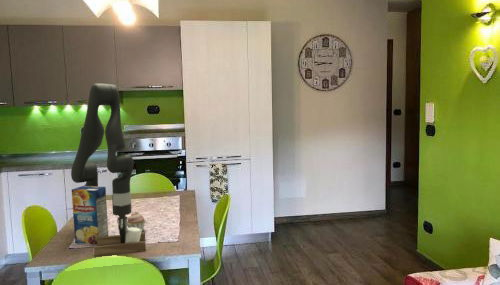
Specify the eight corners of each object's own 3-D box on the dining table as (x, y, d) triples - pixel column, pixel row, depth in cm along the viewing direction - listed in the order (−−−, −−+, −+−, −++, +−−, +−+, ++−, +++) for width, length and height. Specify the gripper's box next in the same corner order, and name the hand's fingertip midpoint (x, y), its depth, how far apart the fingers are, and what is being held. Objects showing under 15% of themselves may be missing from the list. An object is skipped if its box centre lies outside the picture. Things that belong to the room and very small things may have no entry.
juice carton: (75, 242, 176) (71, 189, 173) (85, 237, 183) (82, 185, 180) (98, 244, 173) (95, 190, 170) (108, 238, 180) (105, 186, 177)
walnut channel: (97, 244, 173) (97, 237, 172) (145, 239, 178) (145, 232, 177) (94, 256, 160) (93, 247, 159) (145, 250, 165) (145, 242, 165)
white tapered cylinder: (131, 241, 175) (133, 225, 174) (143, 245, 171) (145, 230, 171) (119, 244, 169) (121, 228, 168) (131, 249, 165) (133, 232, 165)
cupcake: (139, 235, 184) (138, 214, 183) (122, 233, 187) (120, 213, 186) (150, 229, 192) (149, 209, 191) (133, 227, 195) (132, 207, 194)
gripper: (113, 199, 172) (115, 237, 174) (111, 207, 160) (112, 248, 162) (131, 198, 174) (133, 236, 176) (130, 206, 162) (132, 247, 163)
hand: (123, 242), depth 169 cm, fingers closed
